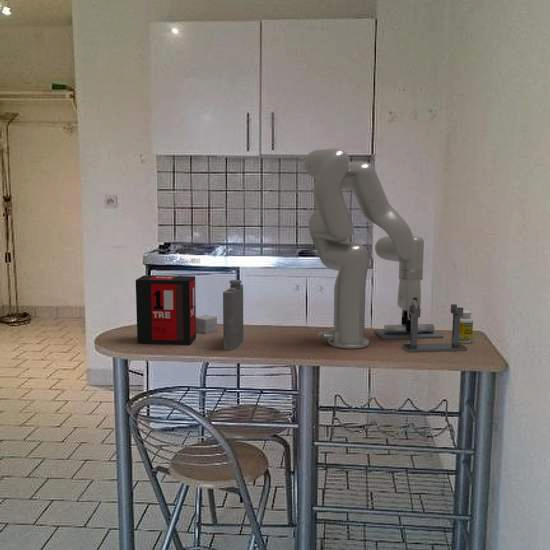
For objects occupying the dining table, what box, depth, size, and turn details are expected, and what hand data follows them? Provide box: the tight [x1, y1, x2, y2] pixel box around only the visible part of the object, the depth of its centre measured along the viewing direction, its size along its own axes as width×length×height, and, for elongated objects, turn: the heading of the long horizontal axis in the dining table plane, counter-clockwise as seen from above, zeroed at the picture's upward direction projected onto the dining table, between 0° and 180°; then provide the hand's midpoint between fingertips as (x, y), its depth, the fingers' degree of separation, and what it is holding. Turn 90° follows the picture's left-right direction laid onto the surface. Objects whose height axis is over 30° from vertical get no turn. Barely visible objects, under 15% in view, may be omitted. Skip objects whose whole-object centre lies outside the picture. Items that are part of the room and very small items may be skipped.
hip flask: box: [222, 279, 244, 352], centre depth 196 cm, size 16×4×20 cm, turn 170°
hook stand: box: [401, 303, 468, 353], centre depth 192 cm, size 18×6×13 cm, turn 96°
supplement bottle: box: [459, 309, 474, 344], centre depth 202 cm, size 5×5×10 cm
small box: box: [196, 314, 218, 335], centre depth 214 cm, size 6×6×5 cm
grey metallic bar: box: [383, 323, 435, 334], centre depth 209 cm, size 16×3×3 cm, turn 96°
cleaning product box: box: [135, 275, 197, 346], centre depth 200 cm, size 16×9×20 cm, turn 85°
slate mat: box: [374, 329, 444, 340], centre depth 210 cm, size 20×9×1 cm, turn 96°
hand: (408, 329), depth 210 cm, fingers open, 4 cm apart
